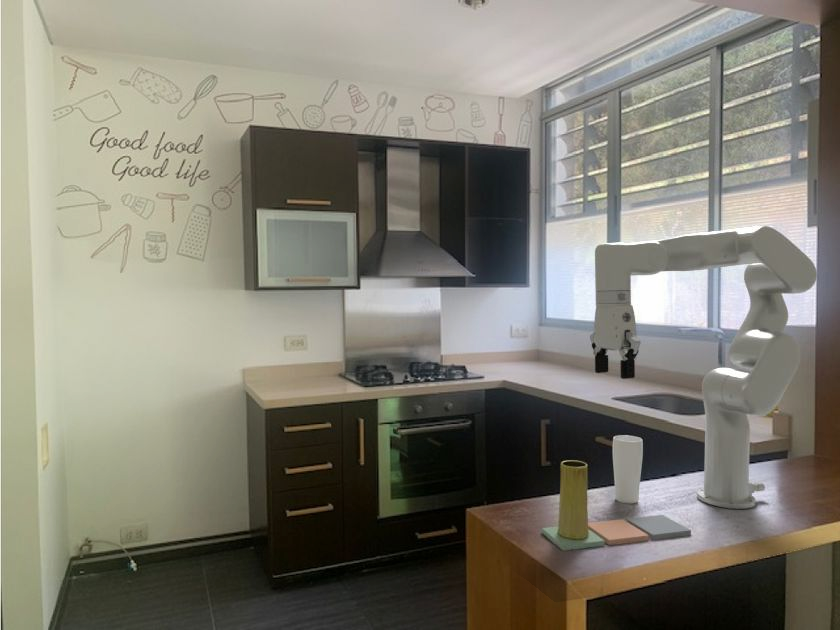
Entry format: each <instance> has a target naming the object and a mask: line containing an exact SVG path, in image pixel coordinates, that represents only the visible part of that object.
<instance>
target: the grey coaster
mask: <svg viewBox="0 0 840 630" xmlns="http://www.w3.org/2000/svg"><path fill="white" fill-rule="evenodd" d="M626 522H628V523H629V524H631V525H633V526H634V527H636V528H638V529H639V530H641V531H643V532H644V533H646V534H647V535H649V539H651V540H662V539H670V538H677V537H684V536H685V537H686V536H691V534H692V530H691V529H690V528H687V527H686V526H684V525H682V524H680V523H679V522H677V521H675V520H673V519H671V518H669V517H667V516H665V515H664V514H658V515H657V514H656V515H650V516H640V517H639V516H638V517H631V518H626Z"/></svg>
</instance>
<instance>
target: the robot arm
mask: <svg viewBox="0 0 840 630" xmlns="http://www.w3.org/2000/svg"><path fill="white" fill-rule="evenodd" d="M740 265H741V266H742V265H746V268H745V270H744V273H743V279H744V284H745V286H746V289H747V292H748V296H749V300H750V301H749V302H750V303H749V305H750V306H749V309H748V311H747V313H746V316H745V319H744V321H743V322H742V323H741V325H740V327H739V329H738V331H737V332H736V334H735V336H734V337H733V340H732V342H731V343H730V346H729V348H728V358H729V360H730V362H731V363H733V365H735V366H737V367H738V368H743V369H746V370H743V369H737V368H731V367H718V368H714V369H712V370H710V371H708V372H707V373H706V374H705V375H704V377H703V380H702V384H701V395H702V396H701V397H702V401H703V406H704V415H705V416H704V417H705V427H704V428H705V431H704V468H703V470H704V471H703V473H704V475H703V476H704V478H703V479H704V480H703V482H704V483H703V488H699V489H698V490H697V492H696V497H697V498H698V500H699V501H701V502H703V503H705V504H709V505H712V506H716V507H719V508H723V509H724V508H726V509H733V510H734V509H735V510H742V509H743V510H744V509H745V510H746V509H751V508H753V507H755V506H756V504H757V502H756V501H757V500H756V498H755V496H753V494H754V493H755V492H764V491H765V490H766V486H765V484H764V483H763V482H756V483H755V482H754V483H753V482H751V481H749V480H750V446H751V445H750V441H751V427H750V420H749V418H748V415H751V416H755V417H756V416H757V417H759V416H765V415H767V414H769V413H771V412H772V411H773V410H775V409H776V407H777V405H778V404H779V402H780V401H781V399H782V398H783V395H784V394H785V392H786V390H787V388H788V387H789V386H790V383H791V382H792V379H793V378H794V375H795V374H796V372H797V370H798V369H799V366H800V362H801V357H802V355H801V353H802V350H801V346H800V343H799V342H798V340H797V339H796V337H794V336H793V335H791V334H788V333H786V332H784V330H785V328H786V326H787V324H788V320H789V311H788V307H787V305H786V301H785V298H784V297H783V294H793V295H795V294H802V293H805V292H808V291H809V290H811V288H812V287H813V286H814V285H815V284H816V282H817V278H818V276H817V274H818V273H817V268H816V266H815V264H814V262H813V260H811V258H809V256H808V255H807V254H805V253H804V252H803V251H802V250H801V249H800V248H799V247H798V246H797V245H795V243H794V242H792V241H791V240H790V239H789V238H787V237H786V236H785V235H784V234H782V233H781V232H780V231H778V230H777V229H775V228H773V227H770V226H768V225H760V226H751V227H750V226H749V227H742V228H741V227H740V228H734V229H725V230H717V231H715V230H714V231H709V232H706V231H705V232H698V233H691V234H690V233H689V234H683V235H679V236H675V237H670V238H664V239H663V238H662V239H659V240H658V239H657V240H652V241H651V240H648V241H647V240H646V241H636V242H630V243H629V242H628V243H624V242H610V243H609V242H607V243H601V244H600V243H599V244H598V245H596V247H595V250H594V272H595V273H594V274H595V276H594V278H595V279H594V280H595V281H594V282H595V288H594V289H595V311H594V323H593V325H594V327H593V330H594V331H593V333H592V334H590V335H589V340H590V342H591V348H592V350H593V351H592V353H593V355H594V372H595V374H602V373H603V374H605V373H608V372H609V355H608V352H609V351H617V352H618V353H619V355H620V357H621V360H620V378H621V379H622V380H625V379H626V380H627V379H634V378H635V376H636V373H635V369H636V367H635V365H636V364H635V363H636V362H635V361H636V360H637V356H638V354H639V349H640V347H641V340H640V339H639V338H638V337H637V323H636V315H635V311H634V307H633V305H632V286H631V285H632V284H631V283H632V282H631V281H632V280H631V277H633V276H634V277H635V276H653V275H657V274H659V273H661V272H692V271H693V272H694V271H703V270H710V269H717V268H719V269H720V268H725V267H733V266H740ZM747 370H748V371H747ZM749 370H751V371H749Z"/></svg>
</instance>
